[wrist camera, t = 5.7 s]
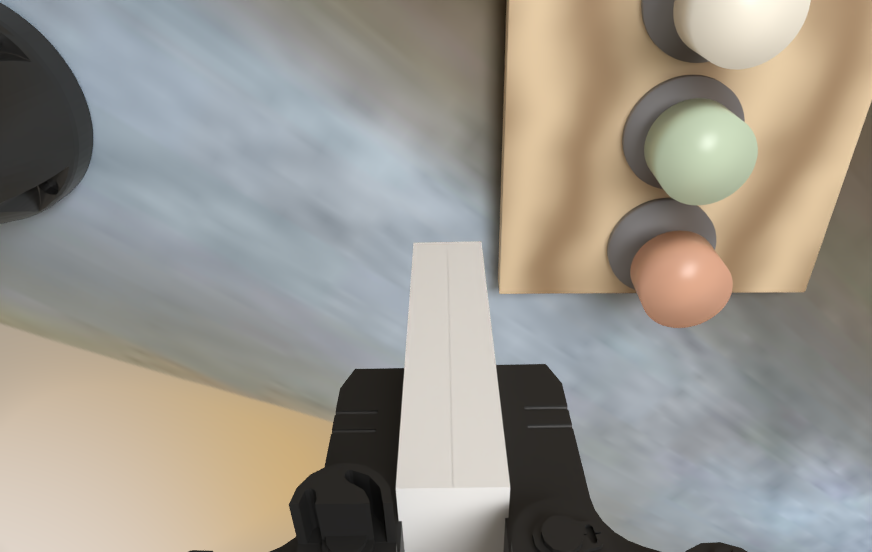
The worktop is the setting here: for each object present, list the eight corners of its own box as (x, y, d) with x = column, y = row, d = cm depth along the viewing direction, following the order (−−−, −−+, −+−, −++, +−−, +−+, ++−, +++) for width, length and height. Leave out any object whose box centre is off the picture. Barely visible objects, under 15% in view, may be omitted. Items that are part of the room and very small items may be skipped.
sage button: (637, 185, 38) (650, 205, 36) (651, 99, 36) (666, 114, 33) (725, 184, 38) (744, 205, 36) (746, 97, 35) (768, 113, 33)
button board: (498, 279, 47) (500, 298, 45) (509, -85, 34) (512, -83, 32) (791, 277, 46) (808, 296, 44) (915, -97, 33) (947, -96, 31)
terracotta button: (624, 301, 42) (635, 328, 39) (636, 230, 39) (649, 254, 36) (705, 301, 41) (722, 327, 39) (723, 230, 39) (742, 253, 36)
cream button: (665, 57, 33) (682, 70, 31) (683, -56, 30) (704, -52, 28) (767, 55, 33) (792, 68, 30) (795, -60, 30) (826, -55, 28)
